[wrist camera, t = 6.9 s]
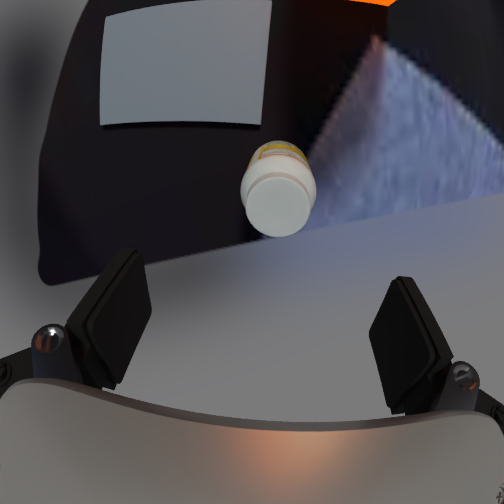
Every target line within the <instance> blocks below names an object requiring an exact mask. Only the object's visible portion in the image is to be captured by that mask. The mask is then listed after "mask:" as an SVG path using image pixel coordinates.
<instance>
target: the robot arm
mask: <svg viewBox="0 0 504 504" xmlns="http://www.w3.org/2000/svg"><path fill="white" fill-rule="evenodd" d="M151 311H152V308H151V302H150V297H149V292H148V286H147V280H146V274H145V268H144V262H143V256H142V254H141V253H139V252H138V250H137V249H132V248H121V249H120V251H119V252H118V253H117V254H116V256H115V257H114V258H113V259H112V260H111V262H110V263H109V264H108V265H107V267H106V268H105V269H104V271H103V272H102V273H101V274H100V276H99V277H98V278H97V280H96V281H95V282H94V284H93V285H92V286H91V288H90V289H89V290H88V292H87V293H86V294H85V296H84V297H83V299H82V300H81V301H80V303H79V304H78V305H77V307H76V308H75V310H74V311H73V312H72V314H71V315H70V317H69V318H68V320H67V323H66V325H65V326H64V327H63V326H61V325H59V324H48V325H45V326H43V327H41V328H40V329H39V330H37V332H36V333H35V334H34V336H33V338H32V341H31V347H30V348H27V349H25V350H22V351H19V352H17V353H14V354H12V355H9V356H7V357H4V358H2V359H0V504H504V405H503V404H501V403H500V402H498V401H497V400H495V399H494V398H492V397H491V396H489V395H488V394H487V393H485V392H484V391H482V390H481V389H479V386H480V379H479V375H478V373H477V372H476V370H475V369H474V368H473V367H472V366H471V365H470V364H468V363H466V362H464V361H457V362H455V363H453V364H452V362H451V359H452V358H453V357H454V356H453V354H452V352H451V350H450V348H449V346H448V343H447V341H446V339H445V337H444V335H443V333H442V331H441V329H440V327H439V325H438V323H437V321H436V320H435V317H434V316H433V314H432V312H431V310H430V308H429V306H428V305H427V303H426V301H425V299H424V297H423V295H422V294H421V292H420V290H419V288H418V287H417V285H416V283H415V282H414V280H413V279H412V278H411V277H403V276H398V277H397V278H396V279H394V280H392V282H391V284H390V286H389V289H388V291H387V293H386V295H385V298H384V300H383V302H382V305H381V307H380V309H379V311H378V313H377V315H376V318H375V319H374V322H373V324H372V326H371V328H370V331H369V338H370V342H371V346H372V349H373V353H374V356H375V360H376V364H377V367H378V371H379V375H380V379H381V383H382V387H383V392H384V396H385V400H386V404H387V406H388V407H389V408H390V409H391V414H392V415H394V414H401V413H404V412H405V416H399V417H391V418H382V419H372V420H360V421H343V422H282V421H264V420H251V419H241V418H232V417H224V416H216V415H208V414H203V413H196V412H190V411H185V410H180V409H175V408H170V407H165V406H161V405H156V404H152V403H148V402H144V401H140V400H136V399H132V398H128V397H124V396H120V395H117V394H113V393H110V392H107V391H103V390H102V387H105V388H108V389H111V390H114V389H115V387H116V384H117V383H118V384H120V383H121V382H122V380H123V377H124V375H125V372H126V370H127V368H128V365H129V363H130V361H131V358H132V356H133V354H134V352H135V349H136V347H137V345H138V342H139V340H140V338H141V336H142V333H143V331H144V329H145V327H146V324H147V323H148V321H149V318H150V316H151Z"/></svg>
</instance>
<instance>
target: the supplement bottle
mask: <svg viewBox="0 0 504 504" xmlns="http://www.w3.org/2000/svg"><path fill="white" fill-rule="evenodd" d="M241 199H242V202H243V205H244V207H245V209H246V214H247V217H248V219H249V221H250V223H251V224H252V225H253V227H254V228H256V229H257V230H258V231H259V232H261V233H263V234H265V235H268V236H271V237H286V236H289V235H292V234H294V233H296V232H298V231H299V230H300V229H301V228H302V227H303V226H304V225H305V224H306V222H307V220H308V218H309V215H310V211H311V210H312V208H313V206H314V203H315V200H316V184H315V180H314V177H313V175H312V172H311V170H310V167H309V165H308V162H307V159H306V157H305V155H304V154H303V153H302V151H301V150H300V149H299V148H297V147H296V146H295V145H293V144H291V143H288V142H284V141H273V142H269V143H266V144H264V145H262V146H261V147H260V148H259V149H258V150H257V151H256V152H255V153H254V155H253V157H252V159H251V161H250V163H249V166H248V168H247V170H246V172H245V174H244V177H243V180H242V183H241Z"/></svg>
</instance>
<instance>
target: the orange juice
mask: <svg viewBox="0 0 504 504" xmlns="http://www.w3.org/2000/svg"><path fill="white" fill-rule="evenodd" d="M352 1H360V2H368V3H374V4H380V5H385V6H389V5H390V4H392V3H393V2H394V1H396V0H352Z"/></svg>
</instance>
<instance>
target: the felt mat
mask: <svg viewBox="0 0 504 504" xmlns="http://www.w3.org/2000/svg"><path fill="white" fill-rule="evenodd" d="M271 8H272V1H267V0H204V1H191V2H181V3H173V4H166V5H159V6H153V7H147V8H142V9H137V10H133V11H128V12H124V13H120V14H116V15H112V16H108V17H106V20H105V27H104V36H103V46H102V58H101V76H100V125H105V124H117V123H131V122H151V121H212V122H233V123H247V124H259V125H260V124H261V116H262V105H263V94H264V83H265V72H266V61H267V50H268V40H269V29H270V18H271Z"/></svg>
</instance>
